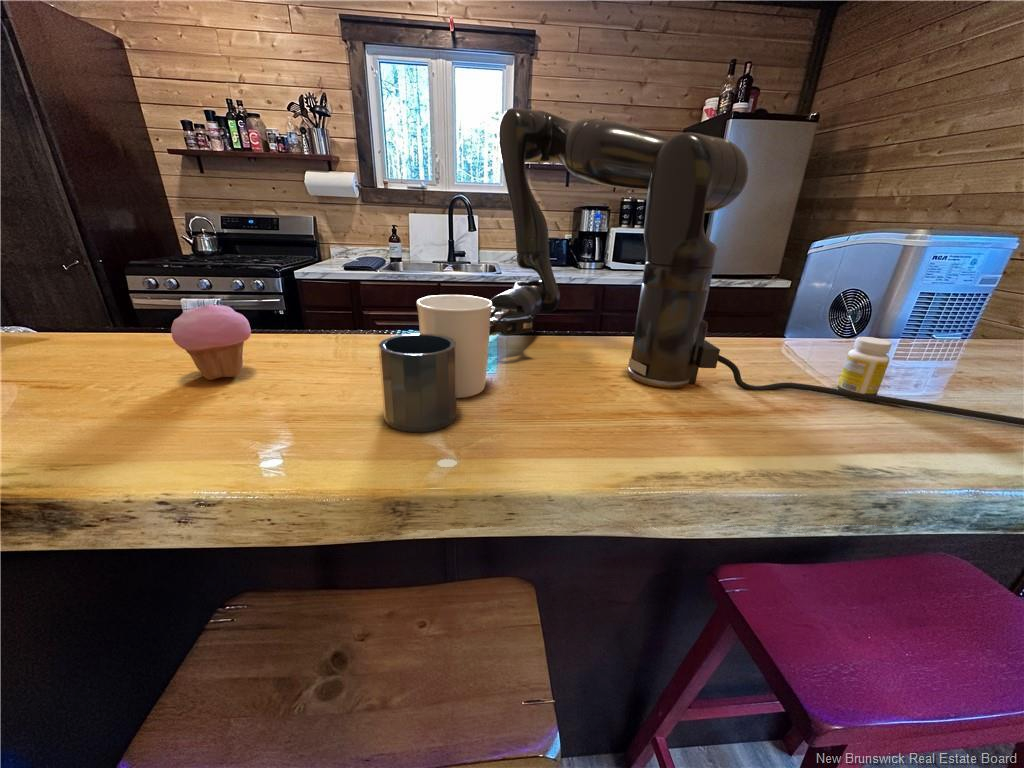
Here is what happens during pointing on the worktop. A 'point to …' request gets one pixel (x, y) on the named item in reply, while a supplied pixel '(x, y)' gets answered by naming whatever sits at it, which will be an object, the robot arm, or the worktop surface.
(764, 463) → the worktop surface
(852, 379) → the supplement bottle
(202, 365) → the cupcake
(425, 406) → the cup
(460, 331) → the cream tumbler
